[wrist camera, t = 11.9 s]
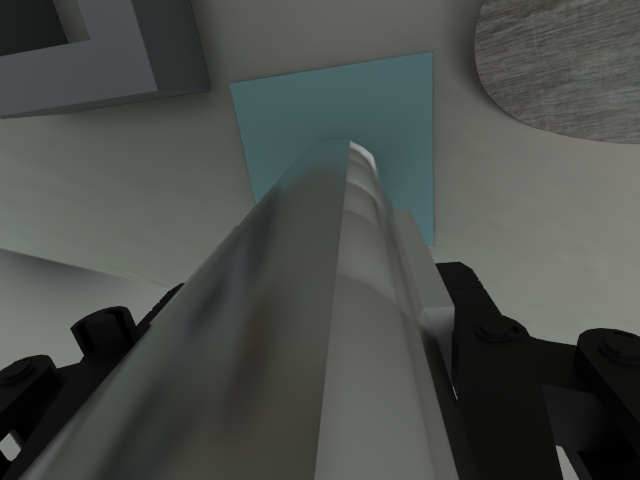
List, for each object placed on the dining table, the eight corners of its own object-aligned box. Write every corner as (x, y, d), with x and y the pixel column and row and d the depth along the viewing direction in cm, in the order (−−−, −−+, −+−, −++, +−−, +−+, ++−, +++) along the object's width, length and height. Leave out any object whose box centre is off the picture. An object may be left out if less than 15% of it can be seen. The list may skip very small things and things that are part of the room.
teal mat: (231, 83, 26) (229, 83, 26) (431, 52, 24) (432, 51, 24) (268, 256, 32) (267, 259, 32) (432, 242, 30) (433, 245, 30)
